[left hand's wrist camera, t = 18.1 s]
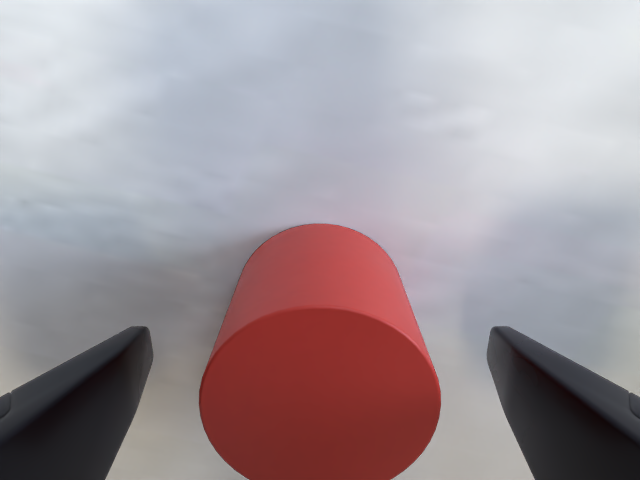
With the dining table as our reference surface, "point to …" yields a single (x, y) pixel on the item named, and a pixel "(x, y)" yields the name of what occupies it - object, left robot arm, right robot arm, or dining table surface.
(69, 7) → the dining table surface
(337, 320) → the can
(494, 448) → the dining table surface
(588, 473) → the left robot arm
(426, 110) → the dining table surface
